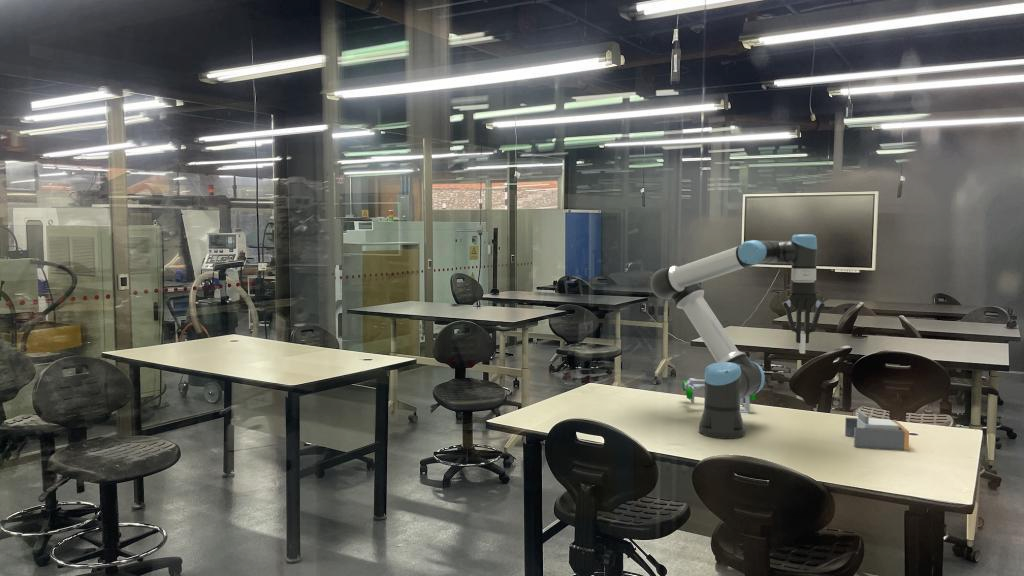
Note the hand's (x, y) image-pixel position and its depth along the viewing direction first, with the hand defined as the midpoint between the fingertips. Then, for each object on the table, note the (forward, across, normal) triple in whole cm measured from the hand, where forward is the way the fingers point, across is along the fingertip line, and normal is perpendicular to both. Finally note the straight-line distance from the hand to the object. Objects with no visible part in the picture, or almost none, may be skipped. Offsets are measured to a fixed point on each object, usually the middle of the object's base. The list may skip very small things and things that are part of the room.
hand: (802, 352), depth 224 cm
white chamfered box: (+28, +23, 0) cm, 37 cm away
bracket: (+29, -25, +38) cm, 54 cm away
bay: (+28, +22, 0) cm, 36 cm away
